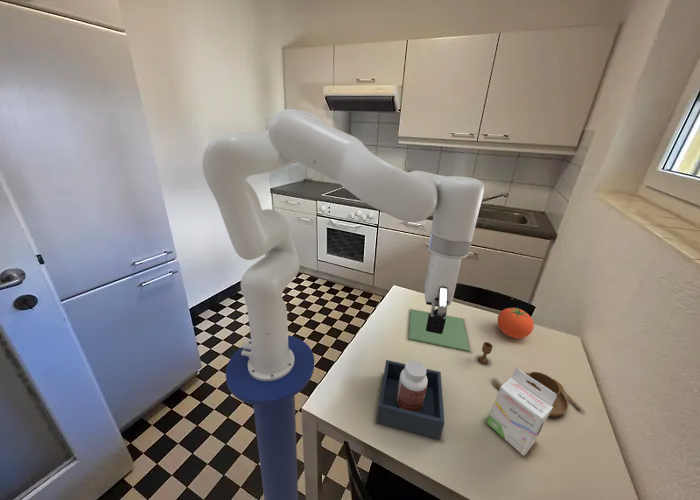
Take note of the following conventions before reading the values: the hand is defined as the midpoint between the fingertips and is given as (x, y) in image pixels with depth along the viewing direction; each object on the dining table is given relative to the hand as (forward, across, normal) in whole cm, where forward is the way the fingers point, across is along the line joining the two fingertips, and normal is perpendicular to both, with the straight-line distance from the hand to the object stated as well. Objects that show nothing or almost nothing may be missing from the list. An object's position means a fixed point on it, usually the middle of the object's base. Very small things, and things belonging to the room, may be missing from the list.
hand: (433, 317), depth 60 cm
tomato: (+24, -33, +30) cm, 50 cm away
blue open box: (+23, +3, -2) cm, 24 cm away
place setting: (+24, -12, +28) cm, 39 cm away
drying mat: (+23, -28, +6) cm, 37 cm away
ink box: (+24, +4, +20) cm, 31 cm away
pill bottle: (+23, +3, -2) cm, 23 cm away
